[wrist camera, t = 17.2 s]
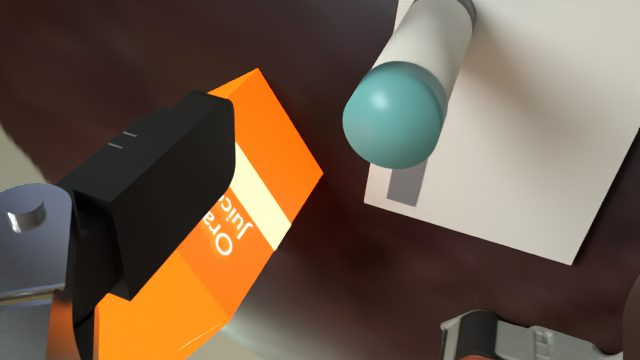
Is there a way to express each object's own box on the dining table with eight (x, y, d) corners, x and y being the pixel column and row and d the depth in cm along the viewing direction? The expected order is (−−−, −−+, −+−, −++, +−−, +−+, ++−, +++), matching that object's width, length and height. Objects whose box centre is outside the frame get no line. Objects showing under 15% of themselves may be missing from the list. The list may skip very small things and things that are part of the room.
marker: (486, -9, 30) (449, 97, 21) (468, 58, 33) (427, 180, 24) (414, -24, 31) (348, 72, 22) (401, 42, 33) (337, 154, 24)
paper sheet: (705, -16, 28) (708, -10, 27) (571, 257, 38) (570, 266, 38) (414, -71, 31) (410, -67, 30) (367, 196, 42) (363, 203, 41)
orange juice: (245, 199, 46) (77, 418, 31) (180, 104, 43) (-43, 296, 28) (325, 173, 42) (175, 412, 27) (259, 66, 39) (46, 267, 24)
